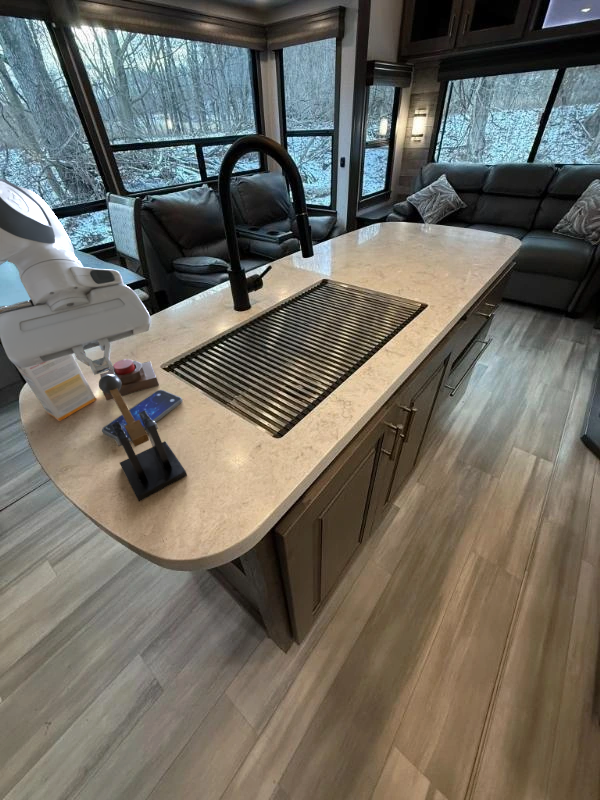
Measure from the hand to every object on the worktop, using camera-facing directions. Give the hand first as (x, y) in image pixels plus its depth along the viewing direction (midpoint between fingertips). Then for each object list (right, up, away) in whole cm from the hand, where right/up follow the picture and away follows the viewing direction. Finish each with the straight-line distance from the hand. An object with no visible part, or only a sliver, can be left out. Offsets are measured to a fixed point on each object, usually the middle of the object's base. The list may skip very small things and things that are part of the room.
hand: (103, 371), depth 52 cm
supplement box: (-17, -6, +18) cm, 25 cm away
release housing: (-8, -1, +24) cm, 25 cm away
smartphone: (0, -8, +15) cm, 17 cm away
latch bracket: (+6, -17, +4) cm, 18 cm away
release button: (-8, +2, +22) cm, 23 cm away
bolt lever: (+3, -7, +1) cm, 7 cm away
